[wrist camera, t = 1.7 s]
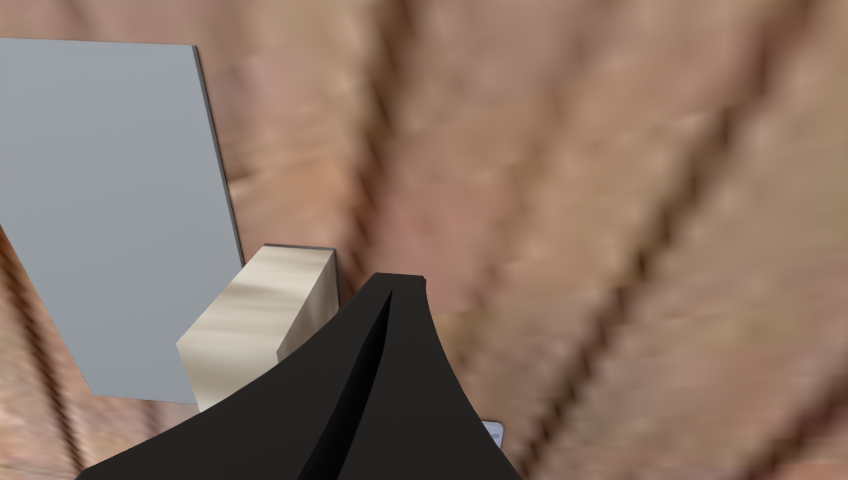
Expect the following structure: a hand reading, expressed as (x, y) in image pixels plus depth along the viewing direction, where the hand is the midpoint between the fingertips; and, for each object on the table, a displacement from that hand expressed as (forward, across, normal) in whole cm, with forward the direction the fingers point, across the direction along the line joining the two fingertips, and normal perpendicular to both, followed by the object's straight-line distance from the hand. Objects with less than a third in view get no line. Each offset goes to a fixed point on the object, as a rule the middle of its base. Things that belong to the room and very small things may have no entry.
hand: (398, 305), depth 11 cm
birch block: (+10, +7, +7) cm, 14 cm away
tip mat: (+10, +18, +7) cm, 21 cm away
